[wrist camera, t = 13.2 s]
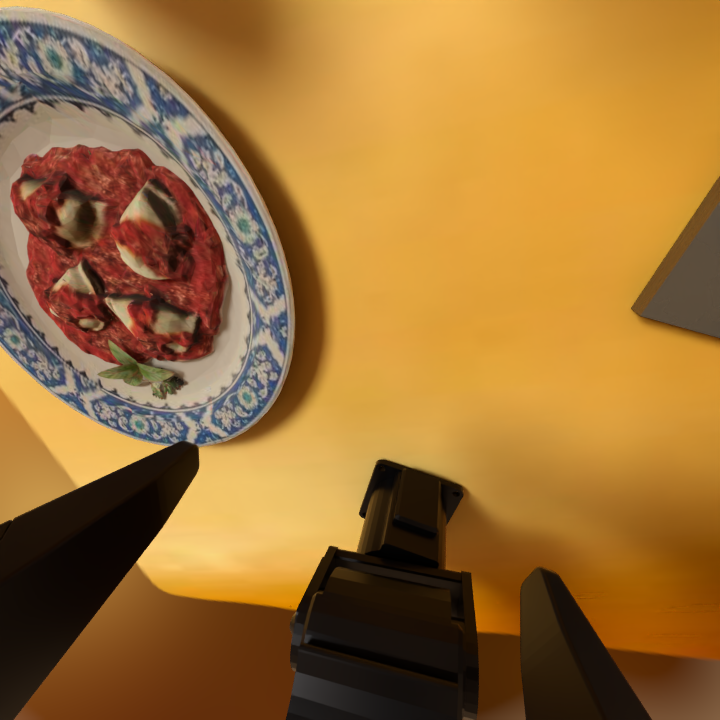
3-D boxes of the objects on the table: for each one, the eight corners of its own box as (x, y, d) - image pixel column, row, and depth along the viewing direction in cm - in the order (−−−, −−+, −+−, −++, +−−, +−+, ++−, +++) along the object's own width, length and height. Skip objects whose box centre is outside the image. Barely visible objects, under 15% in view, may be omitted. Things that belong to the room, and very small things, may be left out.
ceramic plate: (-118, -41, 18) (-214, -76, 15) (354, 110, 16) (336, 99, 14) (11, 366, 31) (-29, 383, 28) (276, 471, 29) (259, 500, 27)
